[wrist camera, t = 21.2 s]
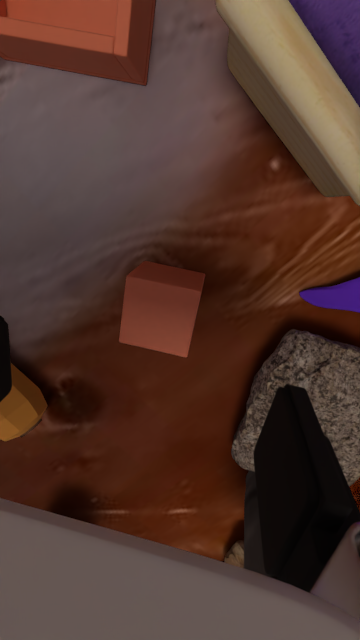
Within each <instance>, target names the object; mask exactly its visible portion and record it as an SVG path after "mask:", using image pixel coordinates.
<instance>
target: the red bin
mask: <svg viewBox="0 0 360 640" xmlns="http://www.w3.org/2000/svg"><path fill="white" fill-rule="evenodd" d="M155 3H156V0H0V57H1V58H3V59H5V60H10V61H16V62H21V63H27V64H32V65H37V66H43V67H48V68H54V69H59V70H65V71H70V72H75V73H81V74H86V75H92V76H97V77H103V78H108V79H113V80H119V81H124V82H130V83H135V84H141V85H146V84H147V75H148V66H149V57H150V48H151V39H152V30H153V21H154V12H155Z"/></svg>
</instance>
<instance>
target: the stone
mask: <svg viewBox="0 0 360 640" xmlns="http://www.w3.org/2000/svg"><path fill="white" fill-rule="evenodd" d="M286 384H290V385H294V386H298V387H302V388H305V389H306V391H307V393H308V396H309V398H310V401H311V403H312V406H313V408H314V411H315V413H316V416H317V418H318V421H319V423H320V426H321V428H322V431H323V433H324V435H325V436H326V437H328V439H329V440H330V442H331V444H332V447H333V449H334V452H335V454H336V457H337V459H338V461H339V464H340V466H341V469H342V471H343V473H344V476H345V478H346V481H347V483H348V486H350V485H352V484H353V483H354V482H355V481H356V480H358V478H359V476H360V348H359V347H357V346H354V345H351V344H346V343H341V342H338V341H332V340H329V339H327V338H324V337H323V336H320V335H316V334H311V333H310V332H308V331H299V330H296V329H292V330H290V331H288V332H287V333H286V334H285V335H284V336H283V337H282V339H281V342H280V344H279V345H278V346H277V348H276V349H275V351H274V352H273V354H272V355H271V356H270V357H269V358H268V359H267V360H266V361H265V362H264V363H263V365H262V367H261V369H260V370H259V372H258V373H257V374H256V375H255V377H254V381H253V384H252V387H251V394H250V396H249V399H248V401H247V403H246V413H245V415H244V417H243V419H242V420H241V422H240V424H239V426H238V429H237V431H236V433H235V435H234V441H233V446H232V449H231V453H232V457H233V459H234V460H235V462H236V463H237V464H238V465H239V466H241V467H242V468H244V469H246V470H249V471H254V472H255V467H254V449H255V445H256V443H257V440H258V438H259V435H260V433H261V430H262V427H263V425H264V422H265V420H266V417H267V415H268V412H269V409H270V407H271V404H272V402H273V399H274V397H275V394H276V391H277V389H278V388H279V387H283V388H284V386H285V385H286Z"/></svg>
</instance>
